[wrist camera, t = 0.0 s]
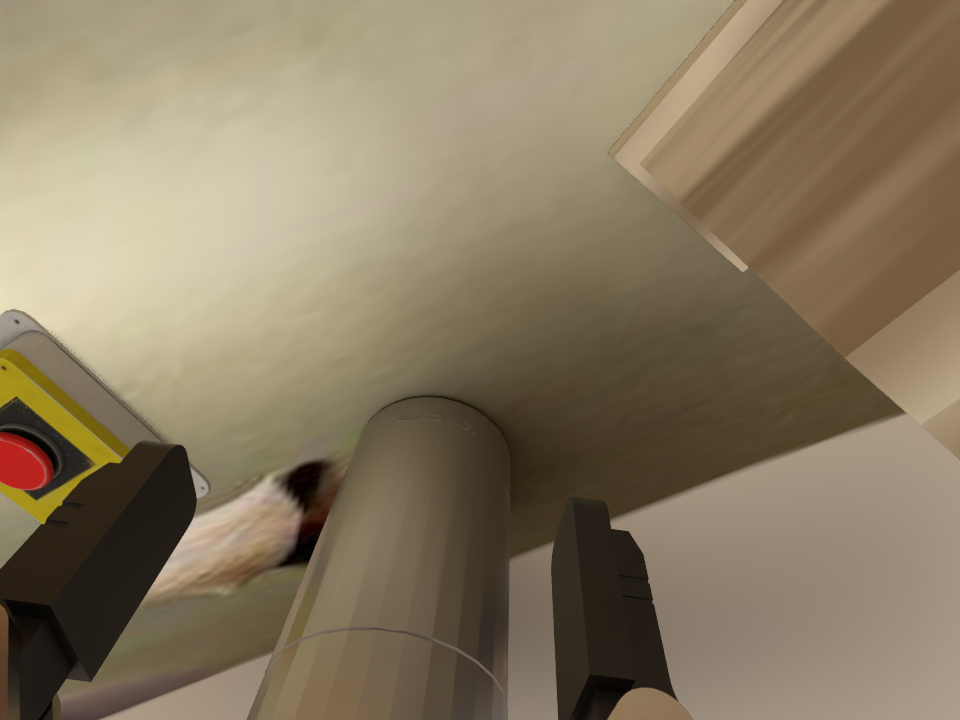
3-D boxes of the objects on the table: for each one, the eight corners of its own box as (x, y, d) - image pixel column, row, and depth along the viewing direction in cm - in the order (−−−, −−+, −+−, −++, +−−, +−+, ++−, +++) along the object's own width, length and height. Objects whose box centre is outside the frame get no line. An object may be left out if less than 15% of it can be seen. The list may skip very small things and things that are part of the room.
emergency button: (-49, 336, 26) (185, 534, 32) (23, 299, 30) (220, 483, 36) (-147, 415, 29) (85, 585, 35) (-70, 372, 33) (127, 532, 39)
